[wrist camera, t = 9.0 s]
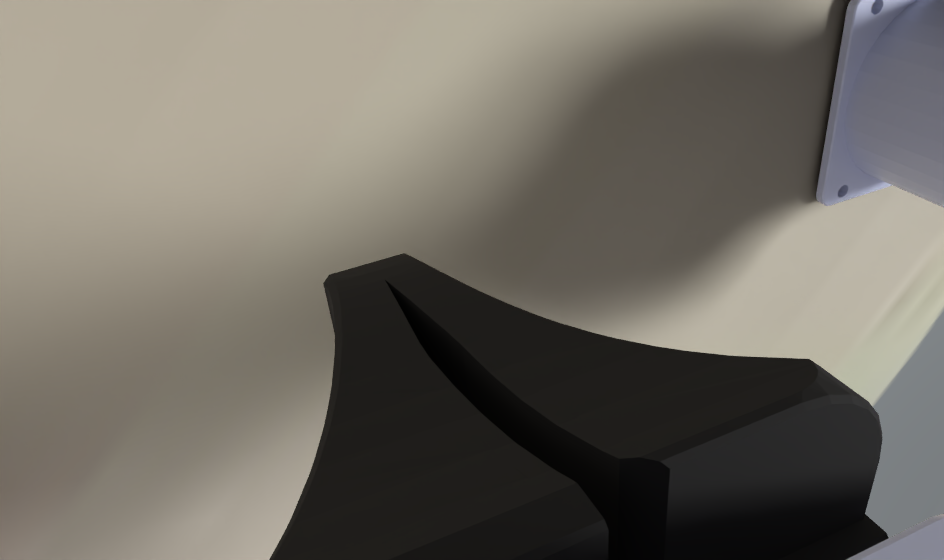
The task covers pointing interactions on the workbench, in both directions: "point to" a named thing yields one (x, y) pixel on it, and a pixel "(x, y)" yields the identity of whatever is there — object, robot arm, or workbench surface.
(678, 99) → the workbench surface
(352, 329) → the robot arm
